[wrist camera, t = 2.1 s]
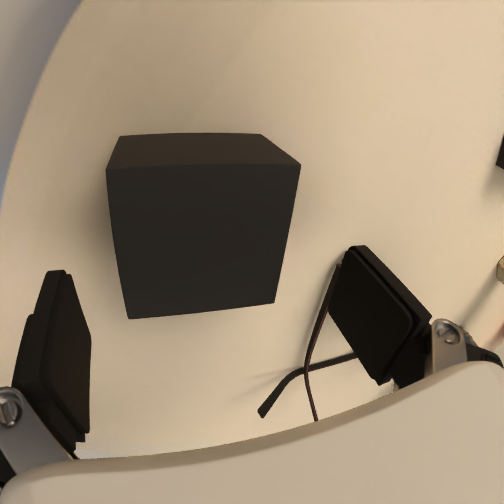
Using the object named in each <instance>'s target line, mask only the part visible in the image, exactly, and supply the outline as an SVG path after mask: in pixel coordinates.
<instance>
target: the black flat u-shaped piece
mask: <svg viewBox="0 0 504 504" xmlns="http://www.w3.org/2000/svg"><path fill="white" fill-rule="evenodd" d="M496 165H497V166H499V167H501V168H502V169H504V138H503V142H502V146H501V149H500V153H499V156H498V160H497V163H496Z"/></svg>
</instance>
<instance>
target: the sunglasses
mask: <svg viewBox="0 0 504 504" xmlns="http://www.w3.org/2000/svg"><path fill="white" fill-rule="evenodd" d="M342 261H343V260H342ZM340 267H341V265H340V264H337V265H336V268H335V271H334V274H333V276H332V279H331V282H330V284H329V287H328V289H327V292H326V295H325V298H324V301H323V303H322V306H321V309H320V311H319V314H318V317H317V320H316V323H315V326H314V329H313V332H312V335H311V339H310V342H309V345H308V349H307V353H306V357H305V363H304V367H303V368H300V369H297V370H295V371H292V372H291V373H290V374H288V375H287V376H286V377H285V378H284V379H283V380H282V381H281V382H280V383H279V384H278V386H277V387H276V388H275V389H274V391H273V392H272V393H271V394H270V395H269V397H268V398H267V399H266V400H265V401H264V403H263V404H262V405H261V406H260V407H259V409H258V411H257V412H258V413H259V415H260V417H261V418H264V417H265V415H266V414H267V413H268V411H269V410H270V408H271V407H272V405H273V404H274V403H275V401H276V400H277V398H278V397H279V395H280V394H281V392H282V391H283V389H284V388H285V386H286V385H287V384H288V383H289V382H290V381H291V380H292V379H294V378H295V377H297V376H299V375H301V374H304V379H305V385H306V389H307V393H308V397H309V401H310V405H311V409H312V413H313V417H314V421H315V422H316V421H318V417H317V413H316V410H315V406H314V402H313V398H312V394H311V390H310V386H309V379H308V372H310V371H314V370H317V369H321V368H325V367H328V366H332V365H335V364H339V363H342V362H346V361H349V360H352V359H355V358H358V357H357V356H356V354H355V353H351V354H348V355H345V356H342V357H338V358H335V359H331V360H328V361H324V362H321V363H317V364H313V365H310V366H309V363H310V359H311V355H312V352H313V349H314V346H315V343H316V340H317V338H318V335H319V332H320V330H321V327H322V325H323V322H324V319H325V317H326V314H327V312H328V303H329V300H330V297H331V294H332V291H333V288H334V285H335V282H336V279H337V276H338V273H339V270H340Z"/></svg>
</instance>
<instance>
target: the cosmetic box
mask: <svg viewBox="0 0 504 504" xmlns="http://www.w3.org/2000/svg"><path fill="white" fill-rule="evenodd" d="M497 278H498V279H499V280H500V281H501V282H502V283H503V284H504V257H503V258H502V259H501V260H500V261H499V263H498V270H497Z"/></svg>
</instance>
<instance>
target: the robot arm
mask: <svg viewBox="0 0 504 504" xmlns="http://www.w3.org/2000/svg"><path fill="white" fill-rule="evenodd" d="M328 312H329V314H330V316H331V317H332V319H333V320H334V322H335V324H336V325H337V327H338V328H339V330H340V331H341V333H342V334H343V336H344V337H345V339H346V340H347V342H348V343H349V345H350V346H351V348H352V349H353V351H354V353H355V354H356V356H357V357H358V359H359V360H360V362H361V363H362V365H363V367H364V368H365V370H366V371H367V373H368V374H369V376H370V377H371V378H372V379H375V381H376V382H377V384H378V386H379V385H382V384H384V383H387V382H389V381H390V380H391V379H393V380H394V388H393V393H391V394H388V395H386V396H384V397H381V398H379V399H377V400H374V401H372V402H369V403H367V404H364V405H361V406H359V407H356V408H353V409H351V410H348V411H345V412H343V413H340V414H337V415H334V416H331V417H328V418H325V419H322V420H319V421H316V422H313V423H309V424H306V425H303V426H300V427H296V428H293V429H289V430H285V431H282V432H278V433H274V434H270V435H266V436H262V437H258V438H253V439H249V440H245V441H240V442H235V443H230V444H225V445H220V446H214V447H208V448H202V449H195V450H188V451H181V452H173V453H164V454H155V455H144V456H132V457H116V458H97V459H80V458H79V457H78V456H77V455H76V454H75V453H74V451H75V449H76V442H85V433H89V431H90V418H89V388H90V360H91V335H90V332H89V329H88V326H87V323H86V320H85V317H84V314H83V311H82V308H81V305H80V302H79V299H78V296H77V292H76V289H75V286H74V282H73V279H72V276H71V274H66V272H65V270H54V271H48V272H47V273H46V275H45V278H44V281H43V284H42V287H41V290H40V293H39V296H38V300H37V303H36V306H35V310H34V313H33V314H30V315H29V316H28V318H27V321H26V324H25V328H24V331H23V335H22V339H21V343H20V347H19V351H18V356H17V360H16V365H15V369H14V374H13V380H12V385H11V387H8V386H6V387H1V388H0V504H504V367H503V364H502V362H501V360H500V358H499V357H498V355H496V354H495V353H492V352H490V351H488V350H485V349H483V348H480V347H477V346H474V345H472V344H469V343H466V342H465V339H464V335H463V333H462V331H461V330H460V328H459V327H458V326H457V325H456V324H454V323H453V322H451V321H449V320H447V319H437V320H435V321H434V322H433V323H432V325H430V324H429V323H428V322H429V321H430V319H431V317H432V315H431V314H430V313H429V312H428V310H427V309H426V308H425V307H424V306H423V305H422V304H421V303H420V302H419V300H418V299H417V298H416V297H415V296H414V295H413V294H412V293H411V292H410V291H409V290H408V288H407V287H406V286H405V285H404V284H403V283H402V282H401V281H400V280H399V279H398V278H397V277H396V276H395V275H394V274H393V273H392V272H391V270H390V269H389V268H388V267H387V266H386V265H385V264H384V263H383V262H382V261H381V260H380V259H379V258H378V257H377V256H376V255H375V254H374V253H373V252H372V251H371V250H370V249H369V248H368V247H367V246H365V245H360V246H351V247H350V248H349V249H348V251H346V252H345V254H344V257H343V261H342V264H341V267H340V270H339V273H338V276H337V279H336V282H335V285H334V288H333V291H332V294H331V297H330V300H329V303H328Z"/></svg>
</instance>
